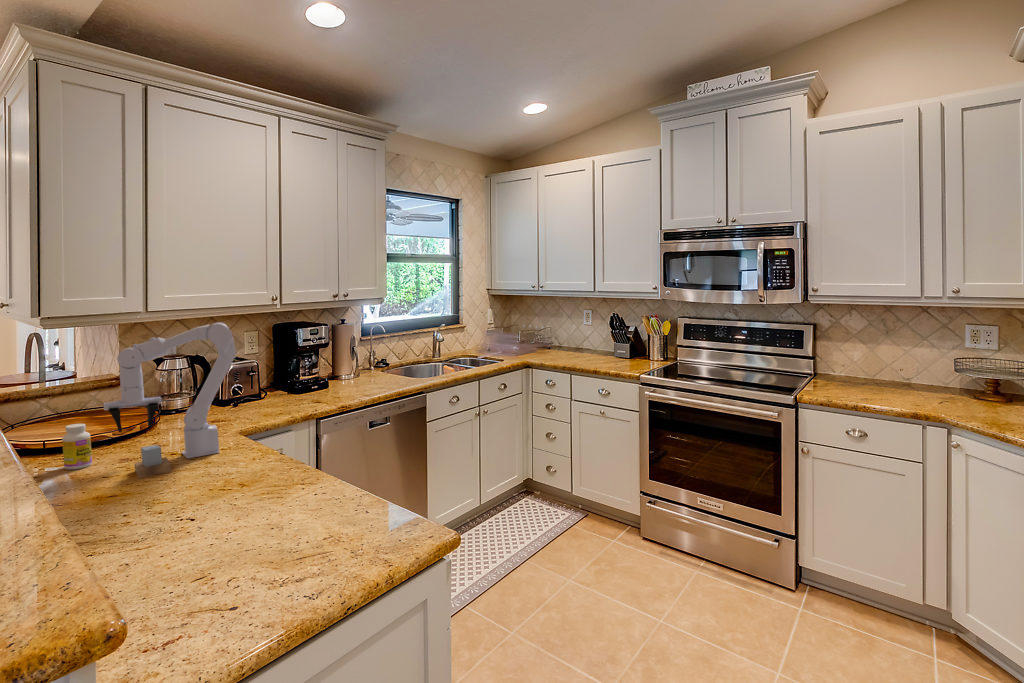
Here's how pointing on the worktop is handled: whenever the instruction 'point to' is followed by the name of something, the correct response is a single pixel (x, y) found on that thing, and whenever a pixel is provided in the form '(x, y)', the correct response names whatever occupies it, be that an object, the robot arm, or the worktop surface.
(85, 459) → the supplement bottle
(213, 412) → the worktop surface
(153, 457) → the gray block
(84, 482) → the worktop surface
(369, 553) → the worktop surface
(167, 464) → the walnut block
